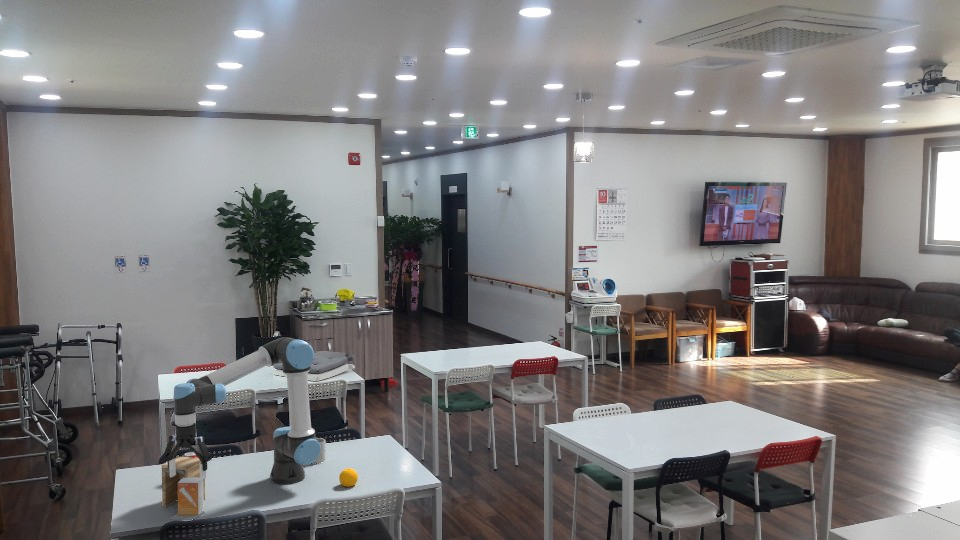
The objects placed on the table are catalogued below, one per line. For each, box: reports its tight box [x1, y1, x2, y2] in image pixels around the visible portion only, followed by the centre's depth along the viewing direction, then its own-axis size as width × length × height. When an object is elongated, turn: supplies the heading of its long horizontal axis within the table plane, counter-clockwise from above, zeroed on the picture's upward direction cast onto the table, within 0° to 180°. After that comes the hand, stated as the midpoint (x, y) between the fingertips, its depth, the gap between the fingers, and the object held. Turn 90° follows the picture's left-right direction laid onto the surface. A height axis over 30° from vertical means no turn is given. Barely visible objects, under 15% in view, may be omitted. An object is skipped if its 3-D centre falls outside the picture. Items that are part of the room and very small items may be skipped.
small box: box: [177, 477, 205, 515], centre depth 292 cm, size 8×6×13 cm
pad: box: [169, 510, 206, 521], centre depth 290 cm, size 9×9×1 cm
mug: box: [313, 437, 327, 464], centre depth 359 cm, size 12×9×10 cm
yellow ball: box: [338, 467, 359, 488], centre depth 325 cm, size 8×8×8 cm
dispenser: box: [161, 456, 206, 508], centre depth 303 cm, size 12×11×17 cm
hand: (187, 477), depth 289 cm, fingers open, 13 cm apart
